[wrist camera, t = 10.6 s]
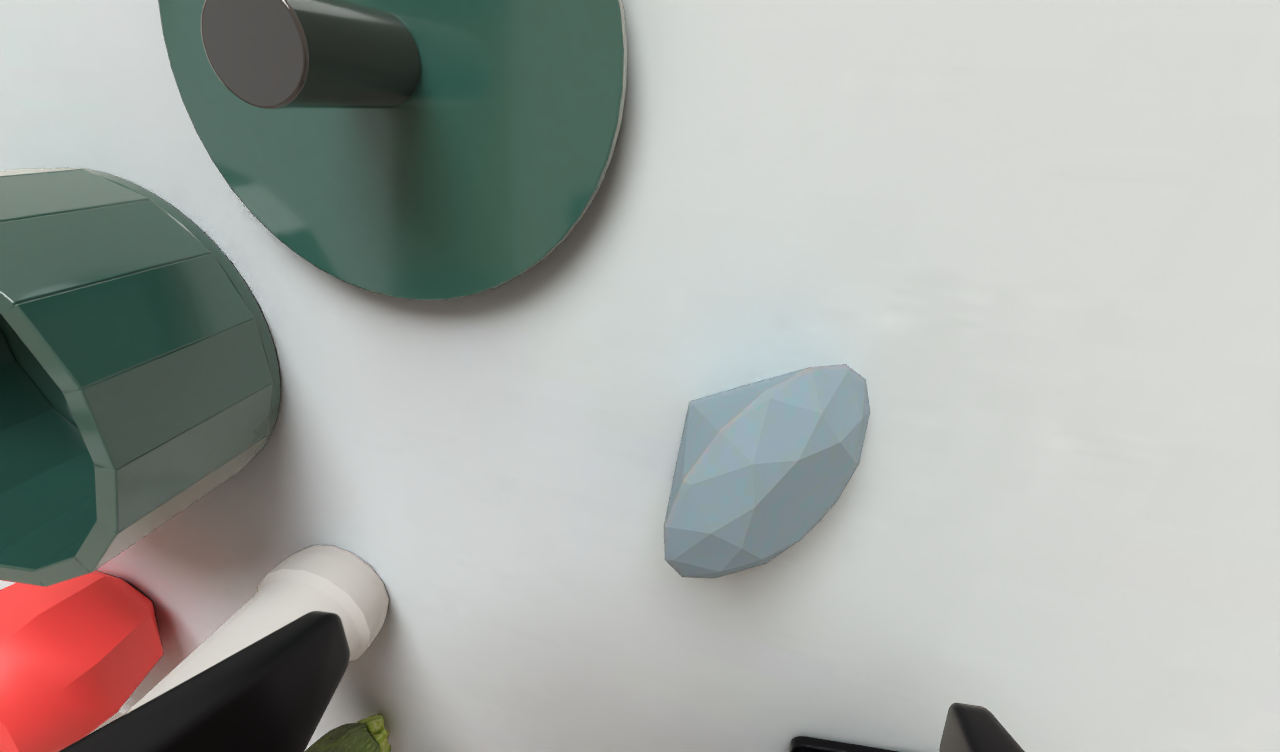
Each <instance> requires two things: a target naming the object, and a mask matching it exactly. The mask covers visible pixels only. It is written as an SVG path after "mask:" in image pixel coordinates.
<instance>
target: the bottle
mask: <svg viewBox="0 0 1280 752" xmlns="http://www.w3.org/2000/svg"><path fill="white" fill-rule="evenodd" d="M388 603H389V598H388V595H387V592H386V589H385V586H384V583H383V581H382V580H381V579H380V578H379V576H378V575H377V574H376V573H375V571H374V570H373V569H372V567H371V566H369V565H368V564H367V563H365V562H364V561H363V560H361V559H360V558H359V557H357V556H356V555H354V554H353V553H351V552H348V551H345V550H343V549H340V548H337V547H335V546H326V545H313V546H311V547H308V548H306V549H303V550H301V551H298V552H296V553H294V554H292V555H290V556H289V557H287V558H286V559H284V560H283V561H282V562H280V563H279V564H278V565H277V566H276V567H274V568H273V569H272V570H271V571H270V572H269V573H268V574H267V575H266V576H265V577H264V579H263V580H262V581H261V583H260V584H259V586H258V587H257V594H255V595H254V596H253V597H252V598H251V599H250V600H249V601H248V602H247V603H246V604H244V605H243V606H242V607H241V608H240V609H239V610H238V611H237V612H236V613H235V614H234V615H232V616H231V617H230V618H229V619H228V620H227V621H226V622H225V623H224V624H223V625H221V626H220V627H219V628H218V629H217V630H216V631H215V632H214V633H213V634H212V635H211V636H209V637H208V638H207V639H206V640H205V641H204V642H203V643H202V644H201V645H200V646H199V647H197V648H196V649H195V650H194V651H193V652H192V653H191V654H190V655H189V656H188V657H186V658H185V659H184V660H183V661H182V662H181V663H180V664H179V665H178V666H177V667H176V668H174V669H173V670H172V671H171V672H170V673H169V674H168V675H167V676H166V677H165V678H163V679H162V680H161V681H160V682H159V683H158V684H157V685H156V686H155V687H154V688H153V689H151V690H150V691H149V692H148V693H147V694H146V695H145V696H144V697H143V698H142V699H141V700H139V701H138V702H137V703H136V704H135V705H134V706H133V707H132V708H131V709H130V710H128V711H127V712H126V713H125V714H127V713H129V712H130V711H132V710H134V709H136V708H138V707H139V706H141V705H143V704H145V703H147V702H148V701H150V700H152V699H154V698H156V697H157V696H159V695H161V694H163V693H165V692H166V691H168V690H170V689H172V688H174V687H175V686H177V685H179V684H181V683H183V682H184V681H186V680H188V679H190V678H192V677H193V676H195V675H197V674H199V673H201V672H202V671H204V670H206V669H208V668H210V667H211V666H213V665H215V664H217V663H219V662H220V661H222V660H224V659H226V658H228V657H229V656H231V655H233V654H235V653H237V652H238V651H240V650H242V649H244V648H246V647H247V646H249V645H251V644H253V643H255V642H256V641H258V640H260V639H262V638H264V637H265V636H267V635H269V634H271V633H273V632H274V631H276V630H278V629H280V628H282V627H283V626H285V625H287V624H289V623H291V622H292V621H294V620H296V619H298V618H300V617H301V616H303V615H305V614H307V613H309V612H312V611H323V612H330V613H335V614H337V615H338V616H339V617H340V618H341V620H342V624H343V627H344V631H345V635H346V638H347V642H348V645H349V649H350V659H349V662H351V661H354V660H358V659H359V657H360V656H361V655H362V654H363V653H364V652H365V651H366V650H367V649H368V647H369V646H370V645H371V643H372V642H373V640H374V639H375V637H376V636H377V635H378V633H379V631H380V630H381V628H382V626H383V624H384V621H385V619H386V615H387V610H388ZM125 714H124V715H125Z"/></svg>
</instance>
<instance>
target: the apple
mask: <svg viewBox="0 0 1280 752" xmlns="http://www.w3.org/2000/svg"><path fill="white" fill-rule="evenodd" d="M163 654H164V653H163V649H162V644H161V640H160V635H159V631H158V626H157V621H156V617H155V612H154V607H153V603H152V601H151V600H150V599H148V598H147V597H146V596H144V595H143V594H142V593H140V592H139V591H138V590H136V589H135V588H134V587H132V586H131V585H130V584H128V583H127V582H126V581H124V580H123V579H120V578H117V577H114V576H111V575H108V574H105V573H101V572H98V571H94V572H92V573H89V574H86V575H83V576H79V577H76V578H73V579H70V580H67V581H63V582H60V583H57V584H54V585H51V586H48V587H45V586H44V587H42V586H36V585H29V584H23V583H15V584H13V585H11V586H8V587H6V588H4V589H1V590H0V752H58V751H60V750H62V749H64V748H66V747H67V746H69V745H71V744H73V743H75V742H76V741H78V740H80V739H82V738H84V737H85V736H87V735H88V734H90V733H91V732H92V731H94V730H95V729H96V728H97V727H99V726H100V725H101V724H102V723H104V722H105V721H106V720H108V719H109V718H110V717H112V716H113V715H114V714H115V713H117V712H118V711H119V709H120V708H121V707H122V705H123V704H124V703H125V702H126V700H127V699H128V698H129V697H130V695H131V694H132V693H133V692H134V690H135V689H136V688H137V687H138V685H139V684H140V683H141V682H142V680H143V679H144V678H145V677H146V675H147V674H148V673H149V672H150V670H151V669H152V668H153V667H154V665H155V664H156V663H157V662H158V660H159V659H160V658H161V657H162V655H163Z"/></svg>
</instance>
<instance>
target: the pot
mask: <svg viewBox="0 0 1280 752" xmlns="http://www.w3.org/2000/svg"><path fill="white" fill-rule="evenodd" d="M280 389H281V384H280V373H279V365H278V360H277V355H276V351H275V346H274V343H273V340H272V337H271V334H270V331H269V328H268V325H267V323H266V321H265V319H264V317H263V314H262V312H261V310H260V308H259V306H258V303H257V302H256V300H255V298H254V297H253V295H252V293H251V291H250V290H249V288H248V286H247V284H246V283H245V281H244V280H243V278H242V277H241V276H240V274H239V273H238V271H237V270H236V269H235V267H234V266H233V264H232V263H231V262H230V260H229V259H228V258H227V257H226V256H225V254H224V253H223V252H222V251H221V250H220V249H219V247H218V246H217V245H216V244H215V243H214V242H213V241H212V240H211V239H210V238H209V237H208V236H207V235H206V234H205V233H204V232H203V231H202V230H201V229H200V228H199V227H198V226H197V225H196V224H195V223H194V222H192V221H191V220H190V219H189V218H187V217H186V216H185V215H184V214H183V213H181V212H180V211H179V210H178V209H176V208H175V207H174V206H172V205H171V204H169V203H168V202H166V201H164V200H163V199H161V198H160V197H158V196H157V195H155V194H154V193H152V192H150V191H148V190H146V189H144V188H142V187H140V186H138V185H136V184H134V183H132V182H130V181H127V180H125V179H122V178H119V177H117V176H114V175H111V174H108V173H103V172H99V171H95V170H90V169H81V168H69V167H68V168H56V169H18V170H6V171H0V580H3V581H10V582H16V583H23V584H29V585H36V586H42V587H44V586H45V587H48V586H51V585H54V584H57V583H60V582H63V581H67V580H70V579H73V578H76V577H79V576H83V575H86V574H89V573H92V572H94V571H95V570H97V569H98V568H99V567H101V566H102V565H104V564H105V563H107V562H108V561H110V560H111V559H113V558H114V557H115V556H117V555H118V554H120V553H121V552H123V551H124V550H126V549H127V548H129V547H130V546H131V545H133V544H134V543H136V542H137V541H139V540H140V539H142V538H143V537H145V536H146V535H147V534H149V533H150V532H152V531H153V530H155V529H156V528H158V527H159V526H161V525H162V524H163V523H165V522H166V521H168V520H169V519H171V518H172V517H174V516H175V515H177V514H178V513H179V512H181V511H182V510H184V509H185V508H187V507H188V506H190V505H191V504H193V503H194V502H195V501H197V500H198V499H200V498H201V497H203V496H204V495H206V494H207V493H209V492H210V491H211V490H213V489H214V488H216V487H217V486H219V485H220V484H222V483H223V482H225V481H226V480H227V479H229V478H230V477H232V476H233V475H235V474H236V473H238V472H239V471H241V470H242V468H243V467H244V466H245V464H246V463H247V462H248V461H249V460H251V459H252V458H254V456H255V455H256V454H257V453H258V452H259V451H260V450H261V449H262V448H263V446H264V445H265V443H266V442H267V440H268V438H269V437H270V435H271V433H272V430H273V428H274V425H275V423H276V420H277V415H278V410H279V405H280Z"/></svg>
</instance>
